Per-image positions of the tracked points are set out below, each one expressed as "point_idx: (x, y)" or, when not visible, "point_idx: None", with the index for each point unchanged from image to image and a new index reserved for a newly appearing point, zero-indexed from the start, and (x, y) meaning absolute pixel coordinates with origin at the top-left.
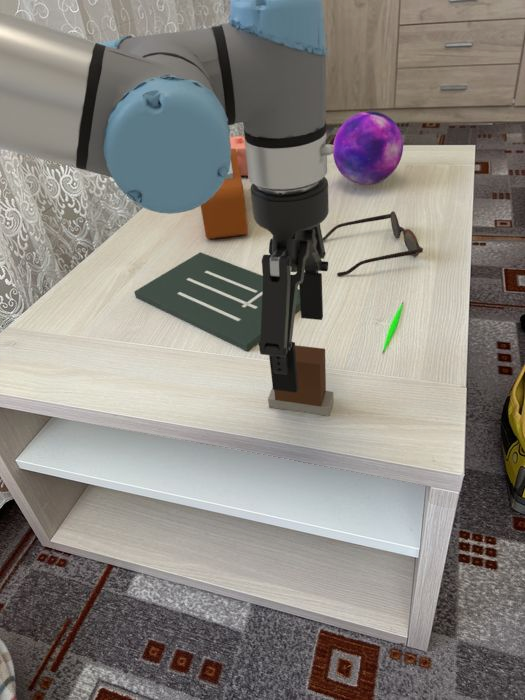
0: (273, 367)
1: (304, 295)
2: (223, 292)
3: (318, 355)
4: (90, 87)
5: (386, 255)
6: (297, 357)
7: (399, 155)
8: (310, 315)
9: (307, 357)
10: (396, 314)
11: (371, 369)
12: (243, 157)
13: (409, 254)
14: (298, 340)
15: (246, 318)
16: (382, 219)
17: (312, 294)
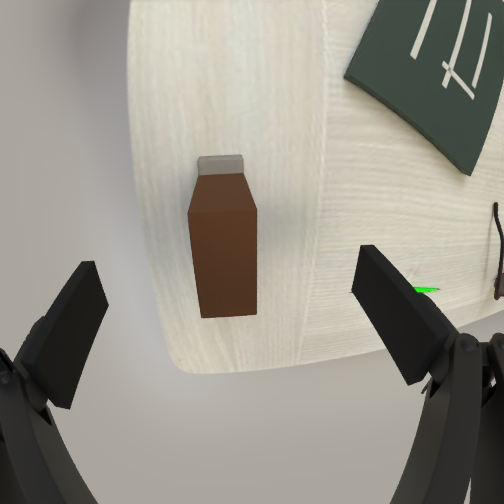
0: (30, 332)
1: (393, 298)
2: (463, 33)
3: (230, 309)
4: None
5: (502, 267)
6: (209, 272)
7: None
8: (360, 272)
9: (217, 291)
10: (421, 290)
11: (319, 286)
12: None
13: (496, 287)
14: (382, 165)
15: (419, 69)
16: None
17: (388, 322)
